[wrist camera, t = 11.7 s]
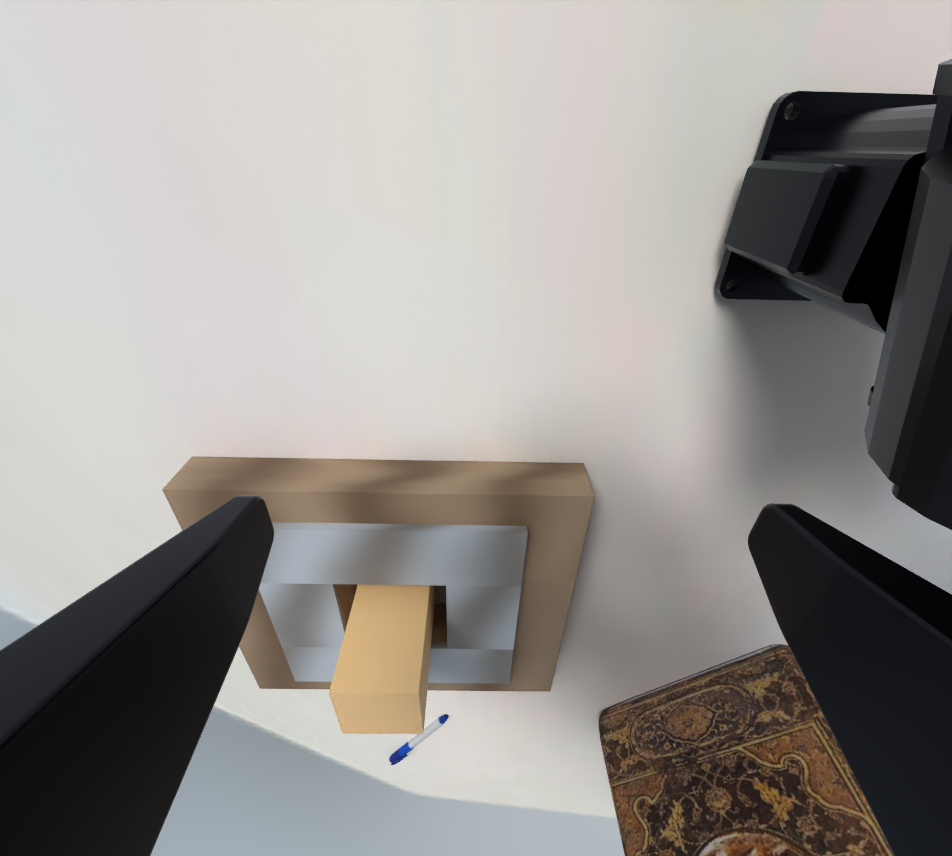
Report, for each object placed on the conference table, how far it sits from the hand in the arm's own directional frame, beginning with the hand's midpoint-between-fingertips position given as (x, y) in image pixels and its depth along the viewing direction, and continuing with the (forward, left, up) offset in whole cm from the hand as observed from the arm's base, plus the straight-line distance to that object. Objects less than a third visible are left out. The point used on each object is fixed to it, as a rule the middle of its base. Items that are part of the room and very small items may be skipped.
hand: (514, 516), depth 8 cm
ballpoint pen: (+5, +40, -12) cm, 42 cm away
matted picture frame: (+5, +17, -12) cm, 21 cm away
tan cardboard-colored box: (+5, +17, -12) cm, 21 cm away
